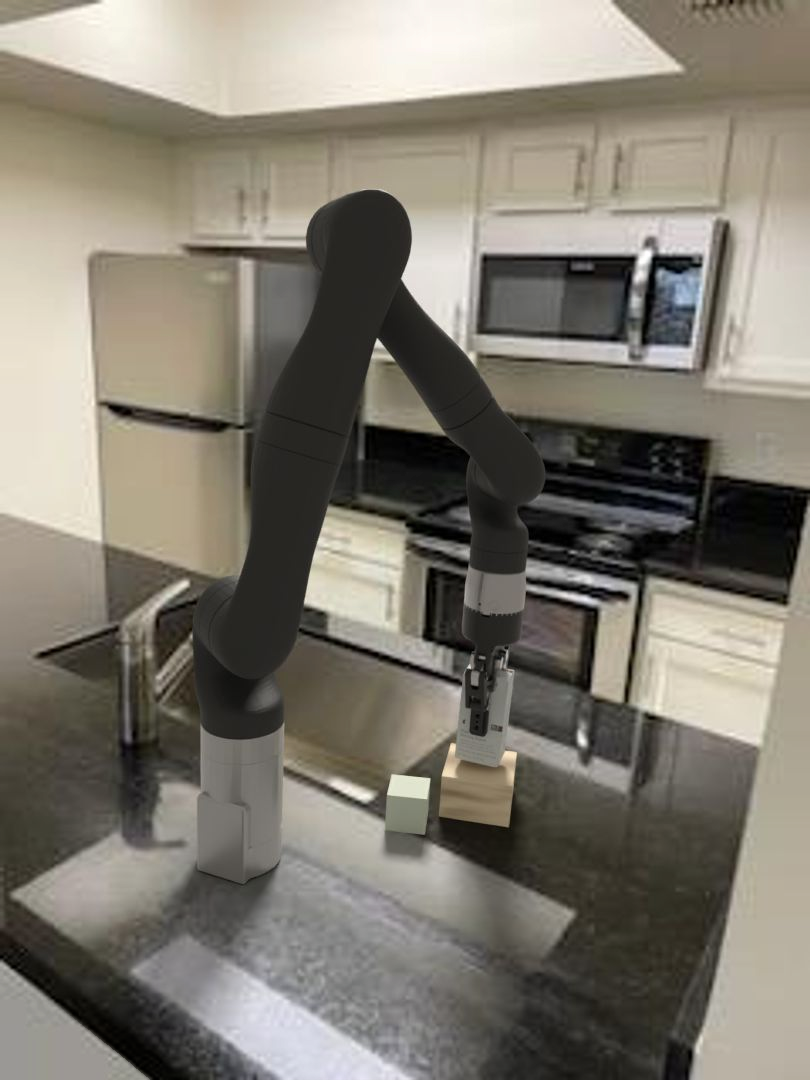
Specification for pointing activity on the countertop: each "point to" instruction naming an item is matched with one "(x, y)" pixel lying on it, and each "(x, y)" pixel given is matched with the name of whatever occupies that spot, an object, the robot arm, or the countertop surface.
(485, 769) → the maple block
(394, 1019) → the countertop surface
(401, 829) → the sage block
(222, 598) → the robot arm
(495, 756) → the skincare box
